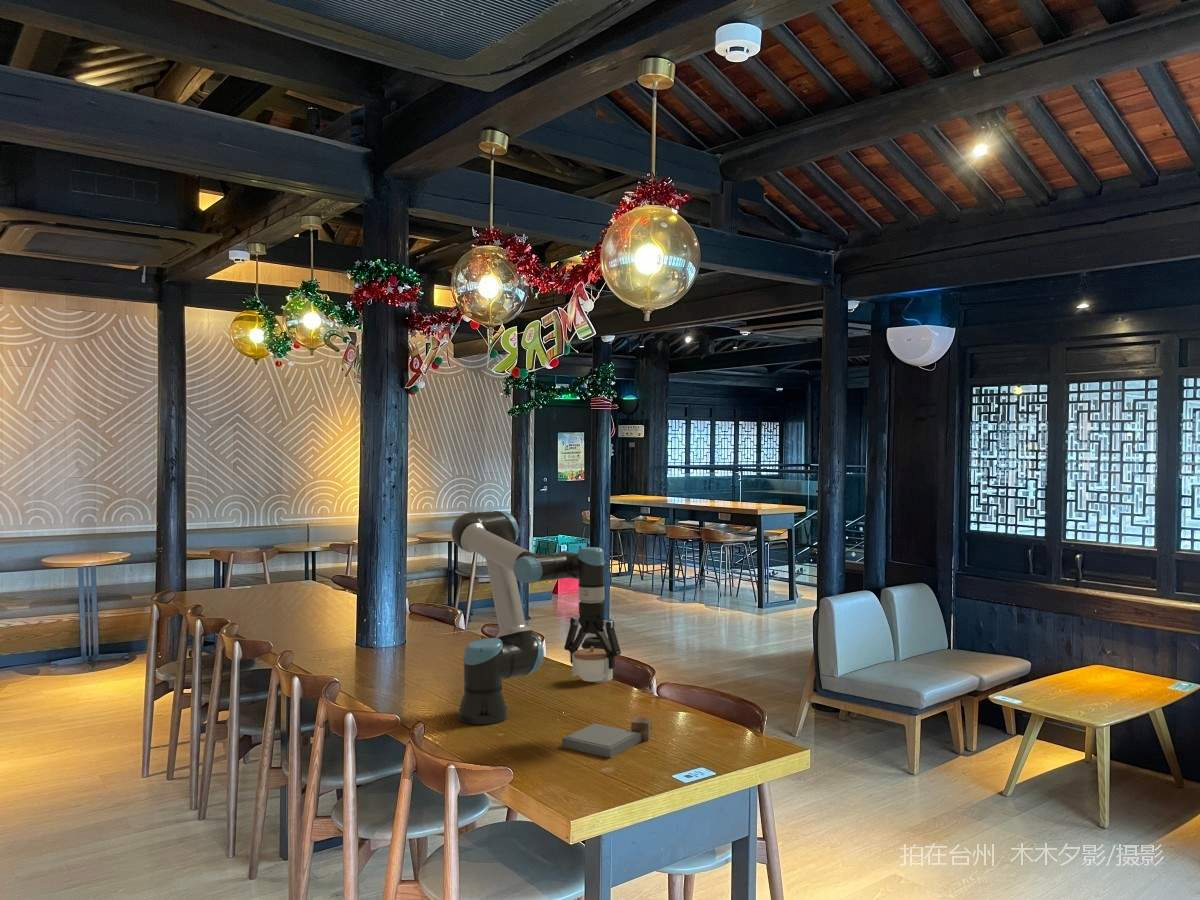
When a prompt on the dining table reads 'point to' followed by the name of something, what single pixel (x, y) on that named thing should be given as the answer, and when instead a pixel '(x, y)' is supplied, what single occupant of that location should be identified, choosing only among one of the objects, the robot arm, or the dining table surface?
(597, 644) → the coffee cup
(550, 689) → the dining table surface
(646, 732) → the walnut block
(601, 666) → the lidded jar
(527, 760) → the dining table surface
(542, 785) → the dining table surface
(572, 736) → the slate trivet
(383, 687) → the dining table surface
